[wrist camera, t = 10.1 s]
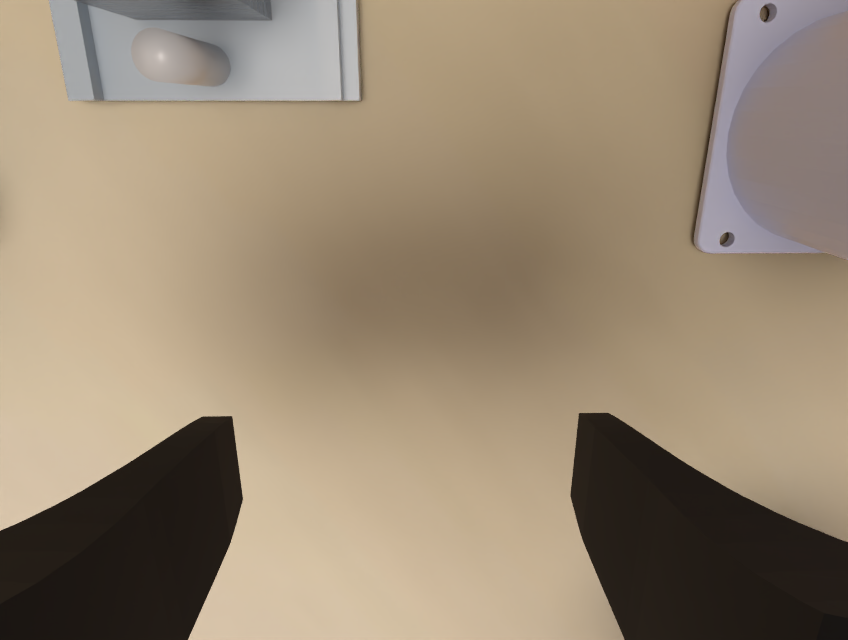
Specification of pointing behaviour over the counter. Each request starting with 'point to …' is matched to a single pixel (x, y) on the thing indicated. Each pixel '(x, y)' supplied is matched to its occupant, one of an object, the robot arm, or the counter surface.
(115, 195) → the counter surface
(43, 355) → the counter surface
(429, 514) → the counter surface
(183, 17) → the block
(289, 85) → the tray
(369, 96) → the counter surface
